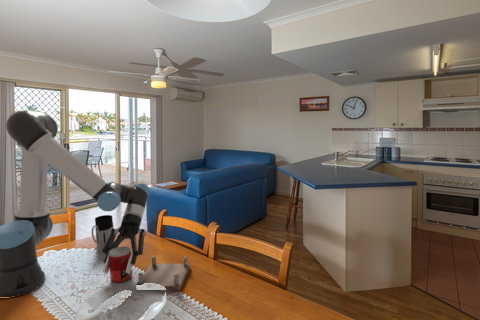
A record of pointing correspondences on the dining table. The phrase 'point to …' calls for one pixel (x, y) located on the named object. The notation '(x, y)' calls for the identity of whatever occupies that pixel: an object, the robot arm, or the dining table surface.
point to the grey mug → (102, 230)
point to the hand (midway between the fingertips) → (116, 272)
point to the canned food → (119, 264)
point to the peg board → (166, 274)
